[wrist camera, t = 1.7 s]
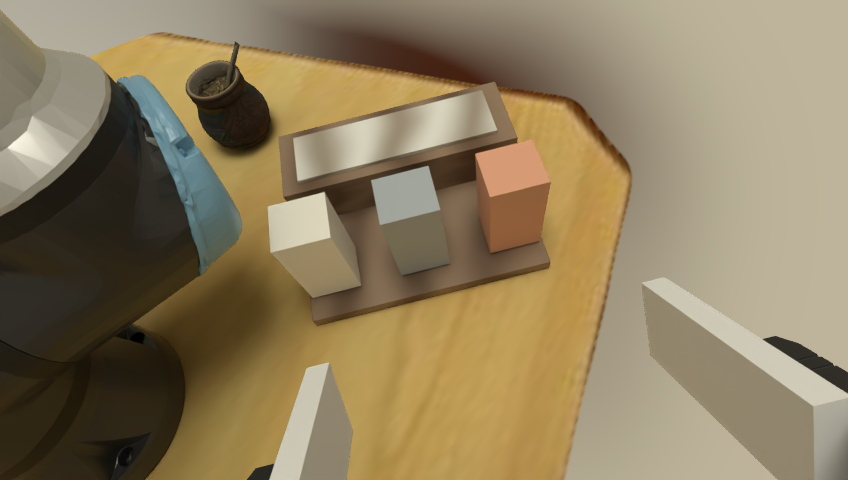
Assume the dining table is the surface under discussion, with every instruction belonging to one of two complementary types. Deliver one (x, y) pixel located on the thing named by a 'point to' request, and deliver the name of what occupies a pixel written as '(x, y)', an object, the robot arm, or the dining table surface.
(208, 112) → the mate gourd
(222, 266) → the dining table surface
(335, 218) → the ivory key
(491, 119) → the key console
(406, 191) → the slate key
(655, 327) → the robot arm
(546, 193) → the pink tall block
